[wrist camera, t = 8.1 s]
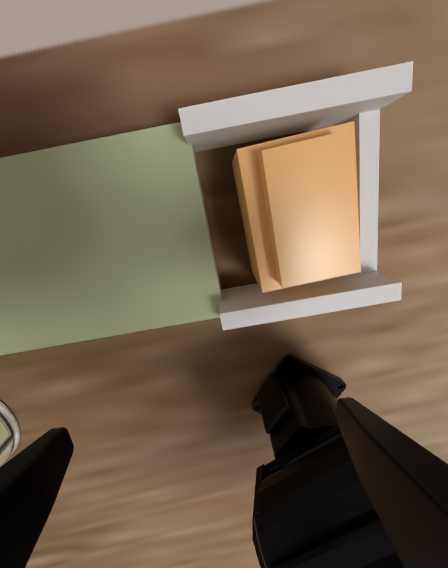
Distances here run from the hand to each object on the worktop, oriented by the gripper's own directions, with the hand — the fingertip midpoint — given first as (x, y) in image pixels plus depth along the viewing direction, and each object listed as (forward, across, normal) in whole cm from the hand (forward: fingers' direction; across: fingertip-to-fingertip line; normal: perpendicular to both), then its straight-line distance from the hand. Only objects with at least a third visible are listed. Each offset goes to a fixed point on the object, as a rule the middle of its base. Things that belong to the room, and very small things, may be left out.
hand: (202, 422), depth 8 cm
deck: (+12, +2, -5) cm, 14 cm away
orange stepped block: (+13, -6, -6) cm, 15 cm away
